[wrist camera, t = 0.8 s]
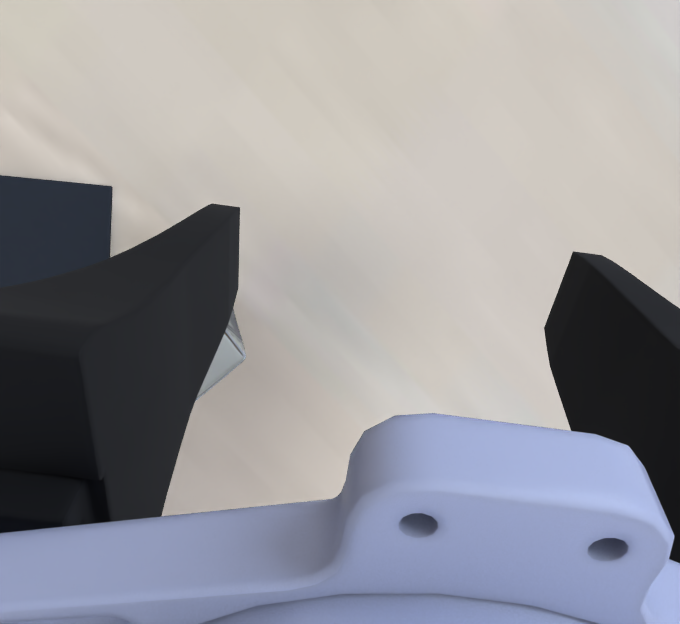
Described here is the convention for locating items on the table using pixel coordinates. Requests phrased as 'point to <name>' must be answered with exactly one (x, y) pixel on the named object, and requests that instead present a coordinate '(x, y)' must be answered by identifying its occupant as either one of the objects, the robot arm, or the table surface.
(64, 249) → the mat
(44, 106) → the table surface
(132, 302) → the robot arm
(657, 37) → the table surface
